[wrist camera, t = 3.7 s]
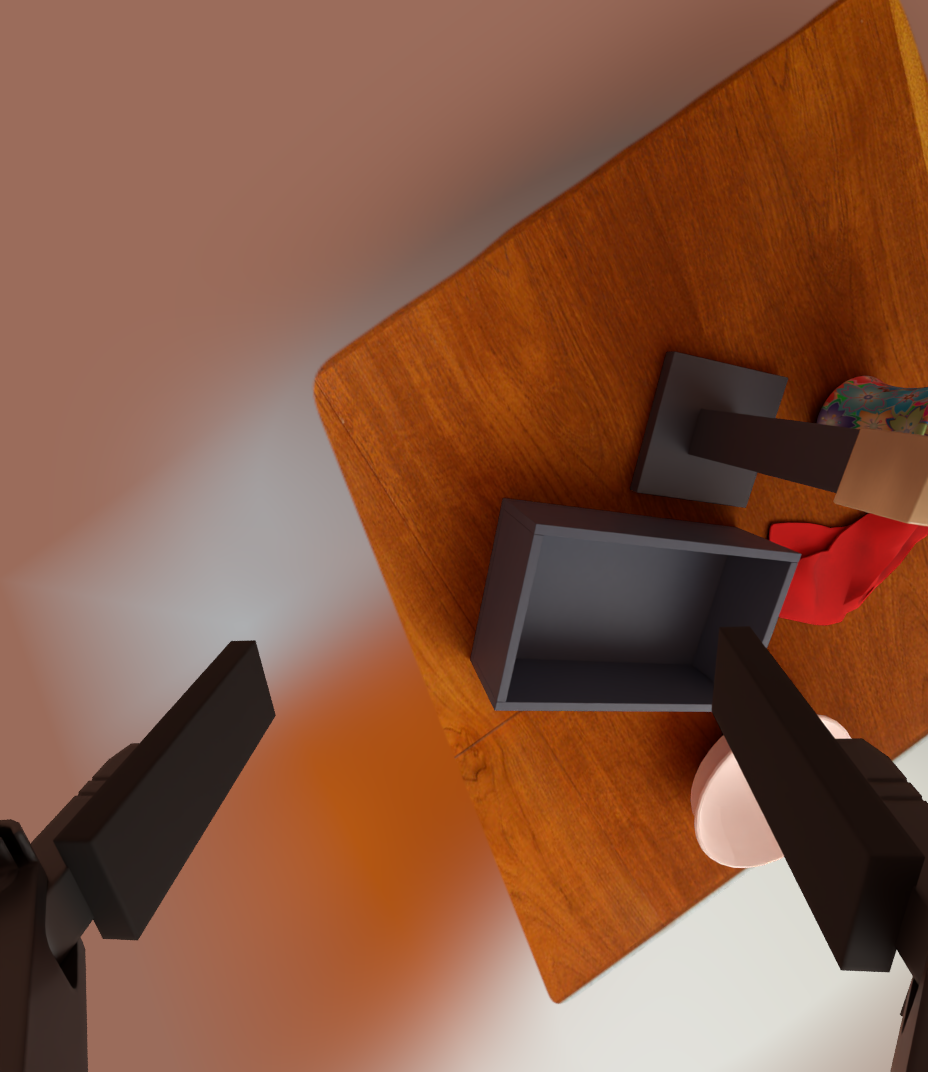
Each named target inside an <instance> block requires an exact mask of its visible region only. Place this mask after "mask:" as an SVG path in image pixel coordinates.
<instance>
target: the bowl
mask: <svg viewBox="0 0 928 1072" xmlns="http://www.w3.org/2000/svg"><path fill="white" fill-rule="evenodd" d="M818 717H819V718H820V719H821V721H822V722H823V723H824V725H825V726H826V727H827V729H828V730H829V731H830V732H831V734H832V735H833V736H834V738H835V739H851V738H850V736H849V734H848V732H847V731H846V729H845V728H844V727H843V726H841V725H840V724H839V723H838V722H837V721H835V720H833V719H831V718H829V717H827V716H824V715H818ZM691 806H692V812H693V814H694V817H695V824H694V826H695V832H696V838H697V840H698V842H699V844H700V847H701V849H702V850H703V851H704V852H705V853H706V854H707V855H708V856H709V857H710V858H711V859H713V860H715V861H716V862H718V863H720V864H722V865H726V866H729V867H733V868H750V867H756V866H761V865H765V864H768V863H771V862H774V861H776V860H779V859H780V858H782V857H784V855H783V853H782V851H781V849H780V847H779V845H778V843H777V841H776V839H775V837H774V835H773V833H772V831H771V829H770V827H769V825H768V823H767V821H766V819H765V817H764V815H763V813H762V811H761V809H760V807H759V805H758V803H757V801H756V799H755V797H754V795H753V793H752V791H751V789H750V787H749V785H748V783H747V781H746V779H745V777H744V775H743V773H742V771H741V769H740V767H739V765H738V763H737V761H736V759H735V757H734V755H733V753H732V751H731V749H730V747H729V745H728V743H727V741H726V739H725V737H724V735H723V736H722V737H721V738H720V739H719V740H718V741H717V742H716V743H715V744H714V745H713V746H712V748H711V749H710V750H709V752H708V753H707V755H706V756H705V758H704V759H703V761H702V762H701V764H700V766H699V768H698V770H697V773H696V775H695V778H694V781H693V785H692V788H691Z"/></svg>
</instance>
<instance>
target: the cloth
mask: <svg viewBox="0 0 928 1072" xmlns="http://www.w3.org/2000/svg"><path fill="white" fill-rule="evenodd" d="M927 535H928V526H921V525H914V524H908V523H904V522H900V521H897V520H893V519H889V518H886V517H882V516H879V515H875V514H872V513H868V514H866V515H865V516H864V517H862V518H861V519H859V520H858V521H856V522H855V523H853V524H852V525H848V526H845V527H833V528H828V527H825V526H822V525H817V524H811V523H790V522H788V523H776V524H772V525H771V526H770V531H769V541H771V542H774V543H776V544H779V545H781V546H784V547H786V548H788V549H791V550H793V551H796V552H798V553H801V554H802V555H801V557H800V560H799V562H797V563H798V565H797V568H796V570H795V573H794V576H793V578H792V581H791V584H790V587H789V589H788V592H787V595H786V598H785V600H784V603H783V606H782V609H781V611H780V614H779V617H781V618H785V619H790V620H794V621H799V622H804V623H809V624H815V625H830V624H834V623H838V622H842V620H843V618H844V617H845V615H846V613H848V612H850V611H852V610H854V609H857V608H858V607H859V606H860V605H861V604H862V603H863V602H864V600H865V599H866V598H867V597H868V596H869V595H870V593H871V592H872V591H873V590H874V589H875V588H876V587H877V586H878V585H879V584H880V583H881V582H882V581H883V580H884V579H886V578H887V577H888V576H889V575H890V574H891V573H892V572H893V571H894V570H895V569H896V568H897V567H898V566H899V565H900V564H901V562H902V561H903V560H904V558H905V557H906V556H907V554H908V553H909V552H910V550H911V549H912V548H913V546H914V545H915V543H917V542H918V541H920V540H921V539H923V538H924V537H926V536H927Z"/></svg>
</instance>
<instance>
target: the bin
mask: <svg viewBox="0 0 928 1072" xmlns="http://www.w3.org/2000/svg"><path fill="white" fill-rule="evenodd" d="M801 555H802V554H801V553H798V552H796V551H793V550H791V549H788V548H786V547H784V546H781V545H779V544H776V543H774V542H771V541H769V540H766V539H764V538H761V537H759V536H757V535H754V534H752V533H749V532H747V531H744V530H742V529H739V528H737V527H729V526H721V525H714V524H706V523H698V522H690V521H682V520H674V519H666V518H658V517H650V516H642V515H634V514H626V513H619V512H611V511H603V510H595V509H587V508H579V507H571V506H563V505H555V504H547V503H539V502H532V501H524V500H516V499H508V498H503V500H502V505H501V510H500V515H499V520H498V525H497V530H496V535H495V540H494V544H493V549H492V554H491V559H490V564H489V569H488V574H487V579H486V584H485V589H484V594H483V599H482V604H481V609H480V614H479V619H478V624H477V629H476V633H475V638H474V643H473V648H472V653H471V658H470V661H471V663H472V665H473V667H474V669H475V671H476V673H477V675H478V677H479V679H480V681H481V683H482V685H483V687H484V689H485V691H486V693H487V695H488V697H489V700H490V702H491V704H492V706H493V708H494V710H506V711H672V712H712V711H711V710H712V700H713V689H714V679H715V668H716V658H717V647H718V637H719V627H741V626H750V627H751V629H752V630H753V631H754V633H755V634H756V635H757V637H758V638H759V639H760V641H761V642H762V643H763V644H764V646H765V647H766V648H767V647H768V644H769V641H770V639H771V636H772V633H773V630H774V628H775V625H776V622H777V619H778V617H779V614H780V611H781V609H782V606H783V603H784V600H785V598H786V595H787V592H788V589H789V587H790V584H791V581H792V578H793V576H794V573H795V570H796V568H797V565H798V563H797V562H799V560H800V557H801Z"/></svg>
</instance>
